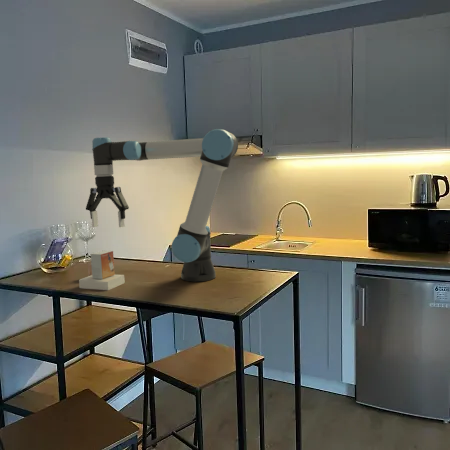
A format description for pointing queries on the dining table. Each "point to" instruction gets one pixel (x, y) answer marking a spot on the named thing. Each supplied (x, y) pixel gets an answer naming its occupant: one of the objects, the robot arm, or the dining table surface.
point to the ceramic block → (101, 282)
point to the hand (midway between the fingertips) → (108, 226)
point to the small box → (102, 264)
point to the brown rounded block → (89, 269)
